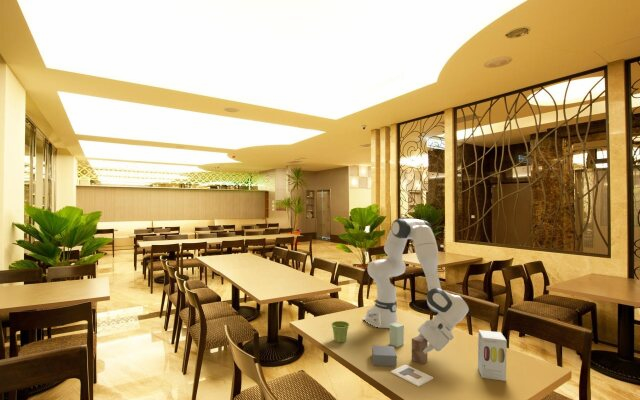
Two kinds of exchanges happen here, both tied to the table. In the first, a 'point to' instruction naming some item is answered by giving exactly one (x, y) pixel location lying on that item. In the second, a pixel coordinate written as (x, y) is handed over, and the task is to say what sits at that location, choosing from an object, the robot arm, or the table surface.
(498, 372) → the supplement box
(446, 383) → the table surface
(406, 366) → the card
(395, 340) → the sage block
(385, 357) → the charcoal base block
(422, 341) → the walnut block
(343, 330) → the plant pot
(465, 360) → the table surface
